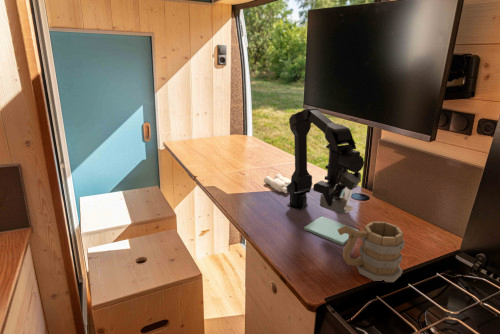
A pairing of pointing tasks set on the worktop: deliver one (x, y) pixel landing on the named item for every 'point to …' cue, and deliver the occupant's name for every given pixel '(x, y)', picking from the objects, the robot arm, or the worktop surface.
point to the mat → (328, 230)
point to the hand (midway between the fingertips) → (332, 204)
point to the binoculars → (278, 183)
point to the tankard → (376, 250)
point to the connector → (336, 204)
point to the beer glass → (346, 196)
